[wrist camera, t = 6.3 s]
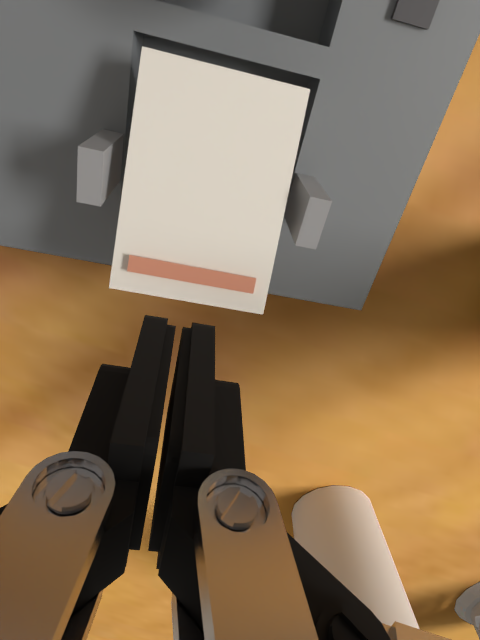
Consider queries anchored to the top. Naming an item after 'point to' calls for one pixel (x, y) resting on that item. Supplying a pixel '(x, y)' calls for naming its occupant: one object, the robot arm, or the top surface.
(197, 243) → the plate
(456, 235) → the top surface
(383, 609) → the white cup
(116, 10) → the panel
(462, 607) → the french press
